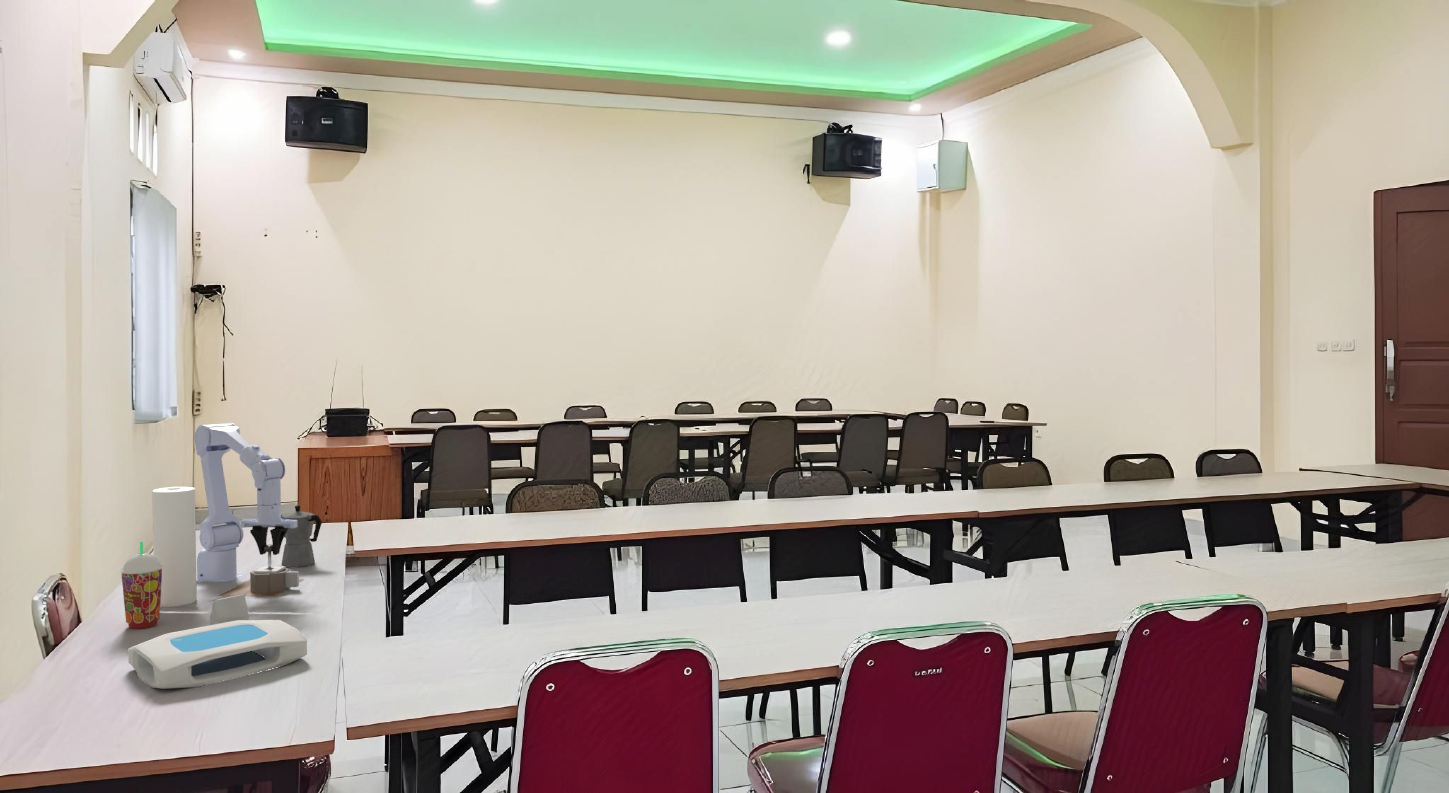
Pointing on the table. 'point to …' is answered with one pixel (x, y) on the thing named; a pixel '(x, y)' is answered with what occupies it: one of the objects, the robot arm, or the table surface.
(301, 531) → the coffeepot
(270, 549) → the plunger
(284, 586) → the grey faceted block
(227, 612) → the tea bag
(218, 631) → the document scanner
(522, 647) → the table surface
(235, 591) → the board
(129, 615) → the smoothie
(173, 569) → the cylinder container
